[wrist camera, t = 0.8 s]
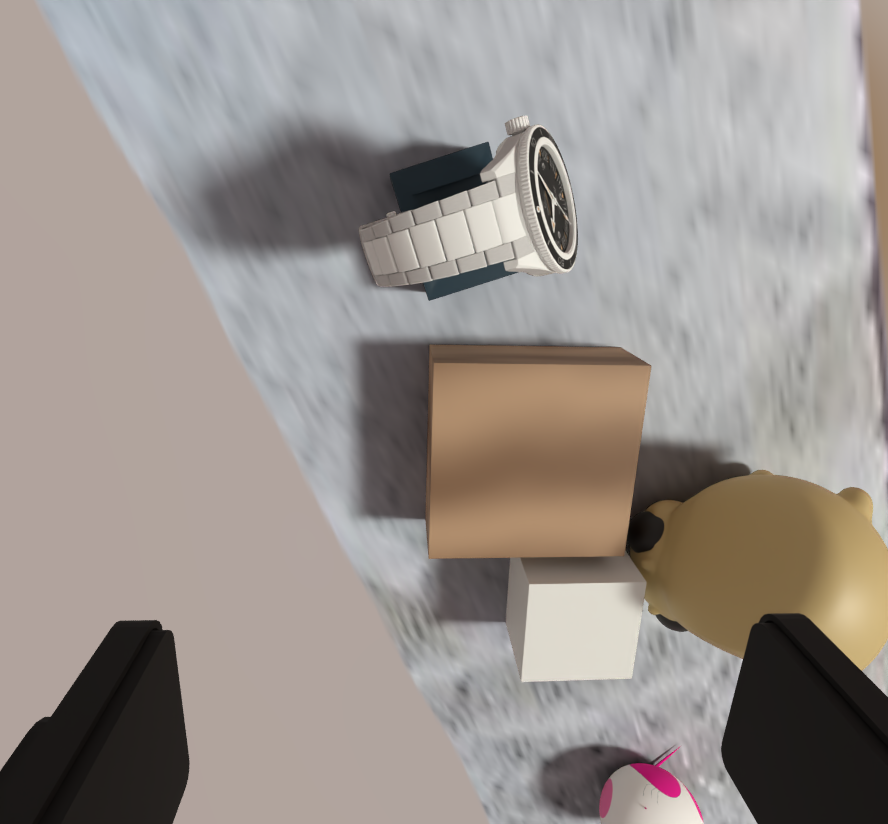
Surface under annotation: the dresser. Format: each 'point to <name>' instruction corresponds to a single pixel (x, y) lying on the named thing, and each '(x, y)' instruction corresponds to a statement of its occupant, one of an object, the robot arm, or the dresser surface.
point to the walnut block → (532, 450)
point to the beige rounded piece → (766, 562)
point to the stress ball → (647, 797)
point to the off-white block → (574, 617)
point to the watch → (477, 216)
